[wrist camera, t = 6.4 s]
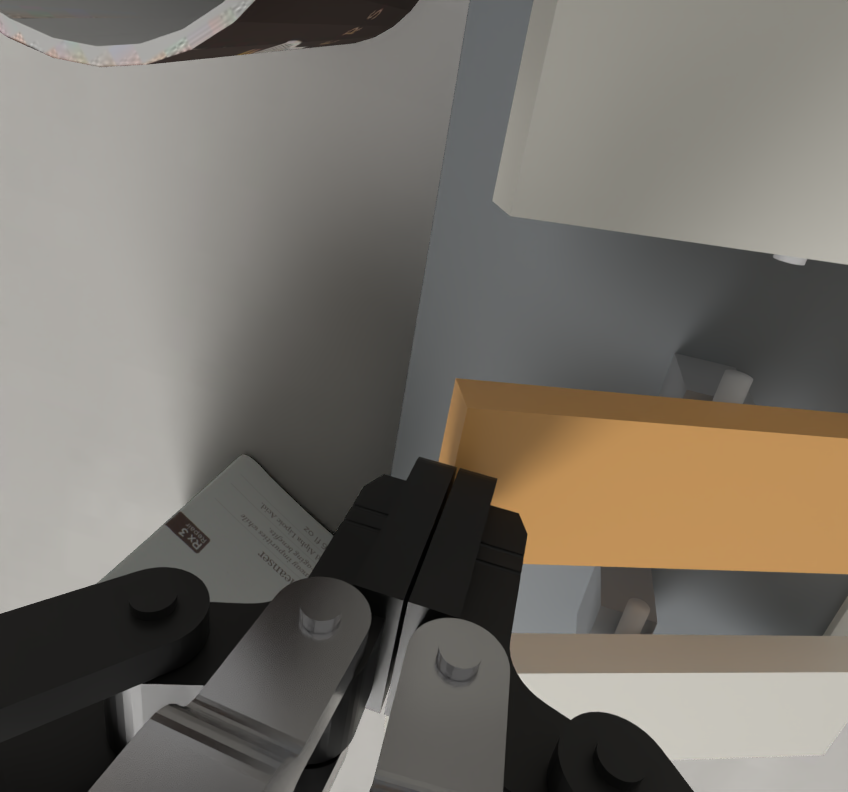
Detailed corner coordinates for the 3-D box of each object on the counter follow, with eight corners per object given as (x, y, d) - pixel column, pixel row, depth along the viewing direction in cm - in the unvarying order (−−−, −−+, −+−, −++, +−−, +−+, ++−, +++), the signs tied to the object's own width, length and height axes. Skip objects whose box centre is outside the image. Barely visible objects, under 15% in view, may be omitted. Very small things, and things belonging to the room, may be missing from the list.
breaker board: (505, -92, 16) (462, -187, 11) (1227, 7, 13) (1611, -55, 8) (388, 563, 26) (336, 676, 21) (793, 688, 23) (848, 850, 18)
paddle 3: (403, 632, 15) (408, 674, 14) (851, 636, 18) (883, 671, 17) (383, 726, 17) (387, 770, 16) (796, 717, 19) (823, 755, 18)
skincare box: (389, 576, 26) (179, 1048, 13) (309, 638, 29) (68, 1079, 16) (237, 441, 25) (-155, 802, 12) (169, 519, 28) (-210, 881, 15)
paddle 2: (455, 377, 12) (467, 407, 11) (990, 426, 15) (1040, 454, 14) (425, 522, 14) (433, 561, 13) (912, 544, 16) (951, 577, 15)
